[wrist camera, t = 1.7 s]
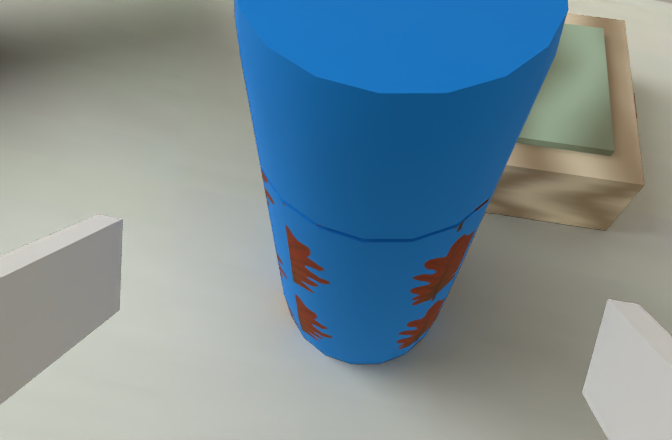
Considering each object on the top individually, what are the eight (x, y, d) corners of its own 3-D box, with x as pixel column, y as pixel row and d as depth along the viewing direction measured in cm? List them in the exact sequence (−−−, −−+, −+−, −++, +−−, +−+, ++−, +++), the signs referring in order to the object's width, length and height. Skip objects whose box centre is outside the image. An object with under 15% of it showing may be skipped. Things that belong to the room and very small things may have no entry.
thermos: (432, 223, 42) (539, -123, 20) (449, 366, 37) (617, 98, 15) (287, 224, 42) (240, -124, 20) (281, 367, 36) (208, 99, 15)
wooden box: (391, 197, 43) (400, 143, 37) (414, 52, 51) (424, -11, 45) (613, 231, 42) (658, 181, 36) (601, 76, 50) (635, 15, 44)
